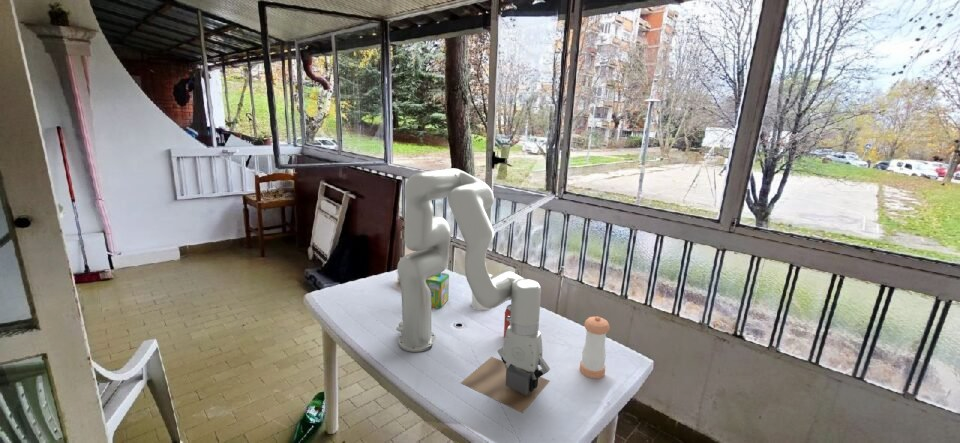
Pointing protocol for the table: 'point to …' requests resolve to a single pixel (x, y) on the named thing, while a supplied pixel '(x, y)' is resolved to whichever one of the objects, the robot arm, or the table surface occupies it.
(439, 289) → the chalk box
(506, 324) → the beer can
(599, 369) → the pepper shaker
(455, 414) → the table surface
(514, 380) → the grey cube with stripe
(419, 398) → the table surface
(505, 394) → the base plate
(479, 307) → the cylinder with rectangular tab
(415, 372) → the table surface
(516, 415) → the table surface
